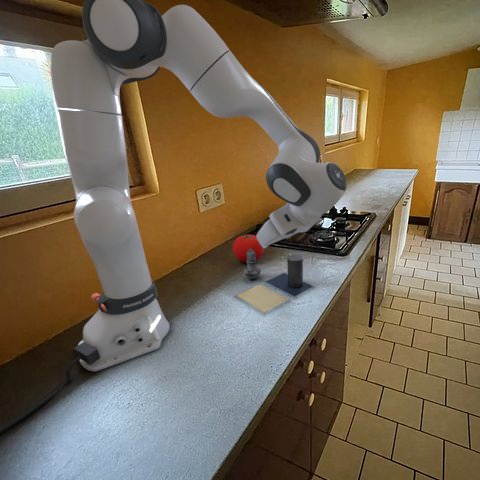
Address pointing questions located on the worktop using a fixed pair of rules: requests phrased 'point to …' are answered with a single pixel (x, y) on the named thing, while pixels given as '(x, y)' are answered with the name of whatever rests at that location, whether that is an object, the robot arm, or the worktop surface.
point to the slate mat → (282, 284)
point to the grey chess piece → (252, 267)
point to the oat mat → (262, 298)
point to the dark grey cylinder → (295, 271)
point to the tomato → (247, 247)
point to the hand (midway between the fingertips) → (275, 241)
